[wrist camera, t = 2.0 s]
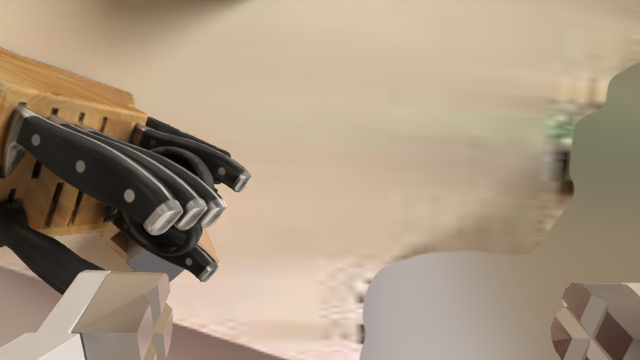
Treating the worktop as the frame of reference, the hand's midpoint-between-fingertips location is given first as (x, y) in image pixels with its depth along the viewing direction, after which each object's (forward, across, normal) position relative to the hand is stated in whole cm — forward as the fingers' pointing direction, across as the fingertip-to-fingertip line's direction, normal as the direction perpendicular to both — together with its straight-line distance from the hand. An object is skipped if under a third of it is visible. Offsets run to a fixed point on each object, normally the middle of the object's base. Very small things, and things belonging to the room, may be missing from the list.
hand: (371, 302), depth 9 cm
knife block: (+39, -28, -9) cm, 49 cm away
